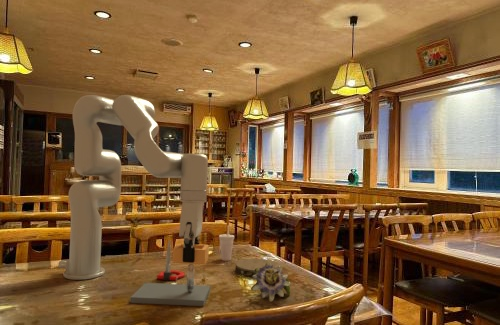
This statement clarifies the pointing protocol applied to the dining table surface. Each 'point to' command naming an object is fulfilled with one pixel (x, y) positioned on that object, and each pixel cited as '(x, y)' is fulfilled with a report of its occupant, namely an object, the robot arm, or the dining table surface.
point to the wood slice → (252, 266)
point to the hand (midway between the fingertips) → (191, 258)
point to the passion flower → (270, 281)
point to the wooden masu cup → (200, 254)
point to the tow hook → (167, 273)
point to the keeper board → (171, 294)
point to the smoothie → (226, 245)
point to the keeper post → (190, 277)
